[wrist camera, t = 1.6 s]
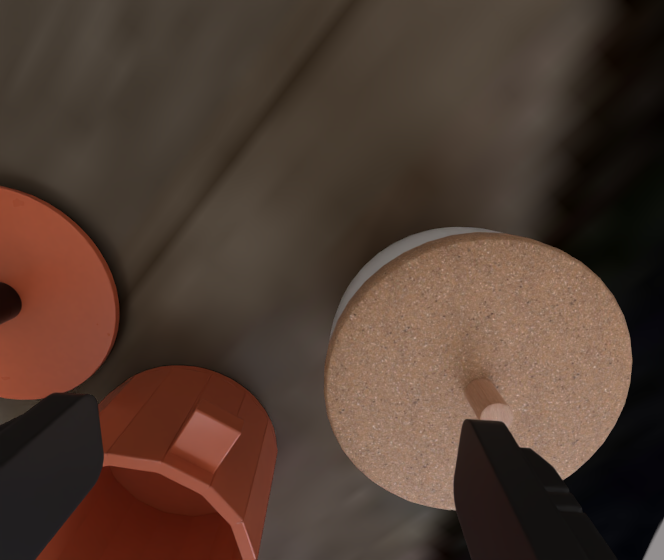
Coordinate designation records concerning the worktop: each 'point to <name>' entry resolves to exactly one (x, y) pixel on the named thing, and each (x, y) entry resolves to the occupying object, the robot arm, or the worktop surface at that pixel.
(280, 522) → the worktop surface
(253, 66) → the worktop surface
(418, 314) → the lidded bowl
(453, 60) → the worktop surface
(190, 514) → the orange tabbed round container
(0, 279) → the lid
